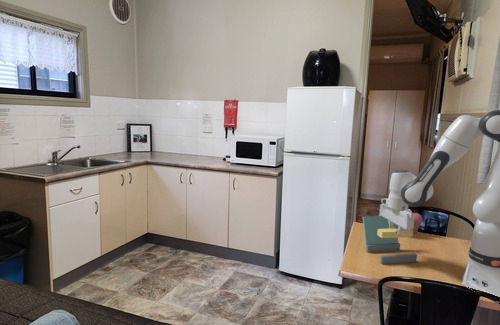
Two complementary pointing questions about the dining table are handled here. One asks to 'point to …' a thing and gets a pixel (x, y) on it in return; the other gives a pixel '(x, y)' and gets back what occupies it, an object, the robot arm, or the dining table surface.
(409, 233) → the pale yellow strip
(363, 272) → the dining table surface
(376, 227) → the panel
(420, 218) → the light bulb
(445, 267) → the dining table surface
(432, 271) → the dining table surface
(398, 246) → the pair of grey bars
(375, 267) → the dining table surface
